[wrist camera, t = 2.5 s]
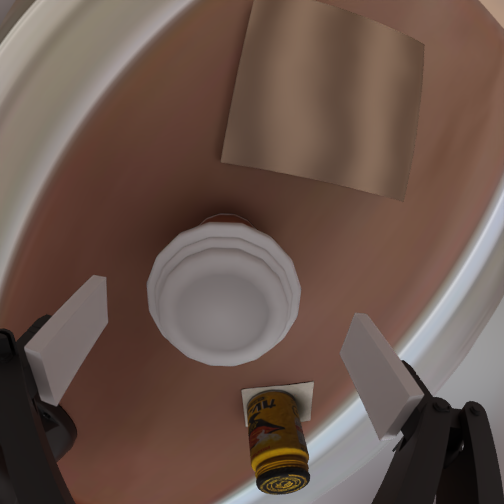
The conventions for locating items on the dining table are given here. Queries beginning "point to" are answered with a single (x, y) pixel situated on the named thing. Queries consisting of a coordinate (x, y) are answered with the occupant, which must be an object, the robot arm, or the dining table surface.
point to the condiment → (278, 435)
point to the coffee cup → (223, 291)
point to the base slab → (326, 97)
